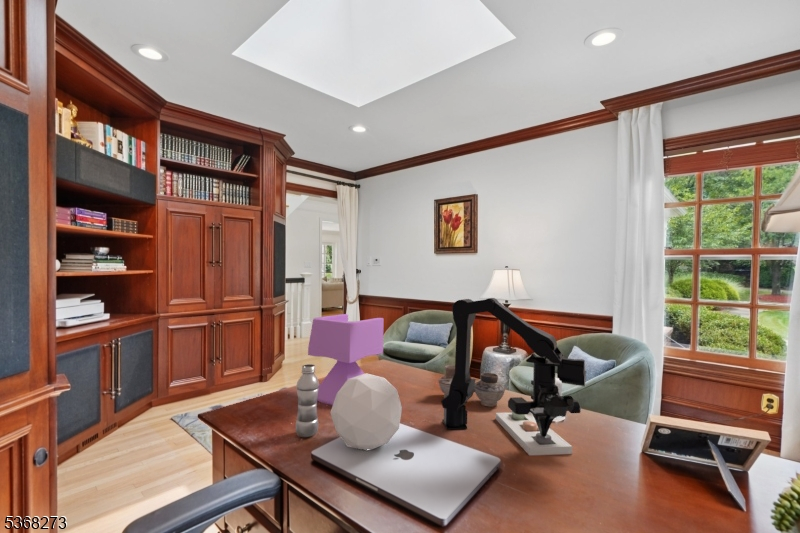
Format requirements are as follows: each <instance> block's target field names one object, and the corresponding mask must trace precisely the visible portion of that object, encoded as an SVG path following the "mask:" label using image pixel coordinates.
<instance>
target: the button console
mask: <svg viewBox="0 0 800 533" xmlns="http://www.w3.org/2000/svg"><path fill="white" fill-rule="evenodd" d="M495 421H496V422H498V424H500V425H501V427H503V429H504V430H505V431H506V432H507V433H508V434H509V435H510V436H511V437H512V439H514V441H515V442H516V443H517V444H518V445H519V446H520V447H521V448H522V449H523V450H524V452H526V454H527V455H528V456H550V455H551V456H554V455H573V445H571V444H570V443H569V442H567V440H565V439H563V437H561V436H560V435H559V434H558V433H556V431H555V430H553V429H552V428H550V427H549V430H548V432H547V434H548V435H550V436H551V444H547V445H539V444H538V443H537V442H536V434H537V433H540V431H539V428H538V426H537V431H536V432H526V431H524V430H523V422H525V421H531V422H534V423H536V421H535V418H534V416H533V414H532V413H531V412H529V413H528V414H525V420H520V421H515V420H513V419H512V412H495ZM536 424H537V423H536Z"/></svg>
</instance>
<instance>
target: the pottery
mask: <svg viewBox="0 0 800 533" xmlns="http://www.w3.org/2000/svg"><path fill="white" fill-rule="evenodd" d="M444 368H445V375H443V376H442V377H440V378H439V379H438V381H437V382H438V386H439V388H440V390H441V392H442V393H443V394H444V395H443V399H444V398H445V397H447V396H448V395H449V389H450V384H451V381H452V379H453V376H454V373H455V364H447V365H445V366H444ZM480 379H481V380H479V381H477V382H475V392H474V393H475V395H476V397H477V398H478V399H479V400H480V404H481V405H482V406H485V407H496V406H497V405H498V402H499V401H500V400H501V399H502V398H503V396H504V395H505V391H506V388H505V387H504V385H503V384H501V383H500V382H498V380H499V375H498V374H497V373H494V372H482V373H480Z"/></svg>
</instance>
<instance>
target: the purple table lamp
mask: <svg viewBox="0 0 800 533" xmlns="http://www.w3.org/2000/svg"><path fill="white" fill-rule="evenodd" d="M384 329H385V328H384V317H376V318H375V317H374V318H369V319H363V320H357V321H356V320H353V321H351V320H350V321H349V314H348V313H343V314H335V315H334V314H333V315H328V316H327V315H326V316H318V317H314V318H313V319H312V325H311V329H310V335H309V341H308V346H307V348H308V349H307V355H308V356H312V357H322V358H330V359H333V360H336V362H335V364H333V367H332V368H331V370H330V371H329V372H328V373H327V374H326V376H325V377H324V379H323V380H322V381H321V382H320V383H319V389H318V396H317V402H319V403H322V404H326V405H330V406H333V403H334V400H335V397H336V394H337V393H338V391H339V390H340V389H341V387H342V386H343V385H344V384H345V382H346V381H347V380H348V379H350V378H353V377H356V376H359V375H362V374H365V372H364V371H363V370H362V368H361V367H360V366H359V365H358V363H357V361H360V360H362V359H364V358H366V357H370V356H377V355H381V354H384Z"/></svg>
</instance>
